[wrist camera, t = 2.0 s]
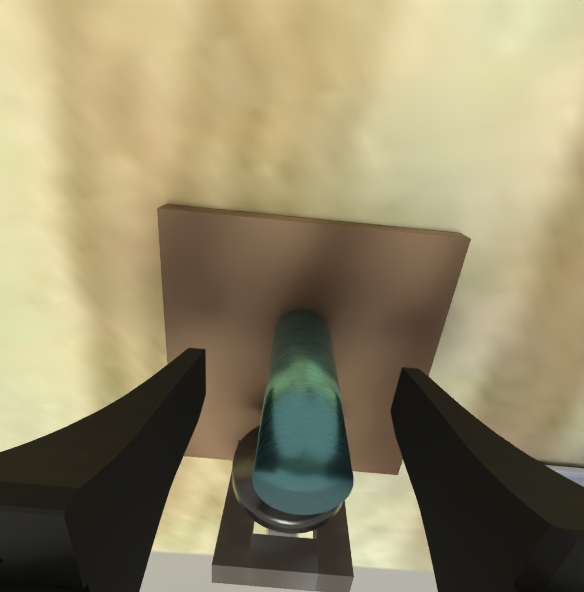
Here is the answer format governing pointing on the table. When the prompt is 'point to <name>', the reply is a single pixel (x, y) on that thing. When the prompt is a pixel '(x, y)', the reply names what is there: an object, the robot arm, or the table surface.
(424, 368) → the eye stand
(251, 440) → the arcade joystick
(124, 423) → the robot arm
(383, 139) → the table surface
